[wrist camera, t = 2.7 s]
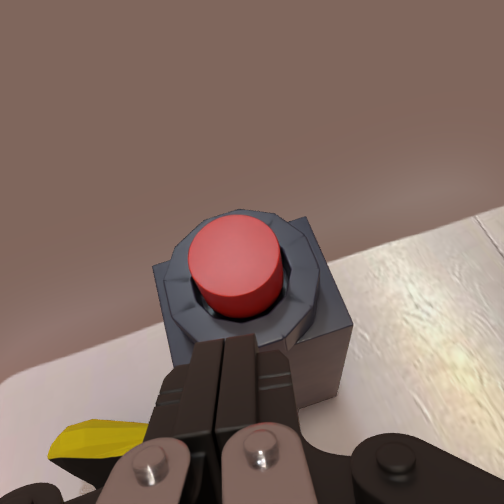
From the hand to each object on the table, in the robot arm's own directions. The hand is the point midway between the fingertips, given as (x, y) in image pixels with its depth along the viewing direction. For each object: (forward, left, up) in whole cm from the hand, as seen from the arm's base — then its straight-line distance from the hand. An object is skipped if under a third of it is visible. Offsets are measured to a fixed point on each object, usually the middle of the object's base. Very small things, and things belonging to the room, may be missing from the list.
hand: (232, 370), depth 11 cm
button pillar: (-1, -5, -24) cm, 24 cm away
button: (-1, -5, -6) cm, 8 cm away
